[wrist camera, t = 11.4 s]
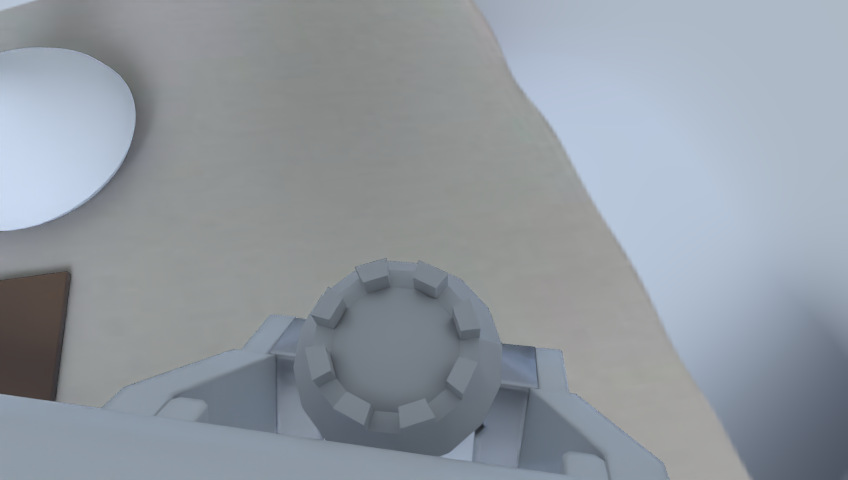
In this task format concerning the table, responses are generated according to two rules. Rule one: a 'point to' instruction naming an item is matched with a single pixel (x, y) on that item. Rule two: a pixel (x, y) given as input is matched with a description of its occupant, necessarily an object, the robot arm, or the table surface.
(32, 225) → the flower in vase
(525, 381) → the robot arm
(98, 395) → the table surface
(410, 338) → the rook chess piece
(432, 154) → the table surface
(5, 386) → the brown wooden board
